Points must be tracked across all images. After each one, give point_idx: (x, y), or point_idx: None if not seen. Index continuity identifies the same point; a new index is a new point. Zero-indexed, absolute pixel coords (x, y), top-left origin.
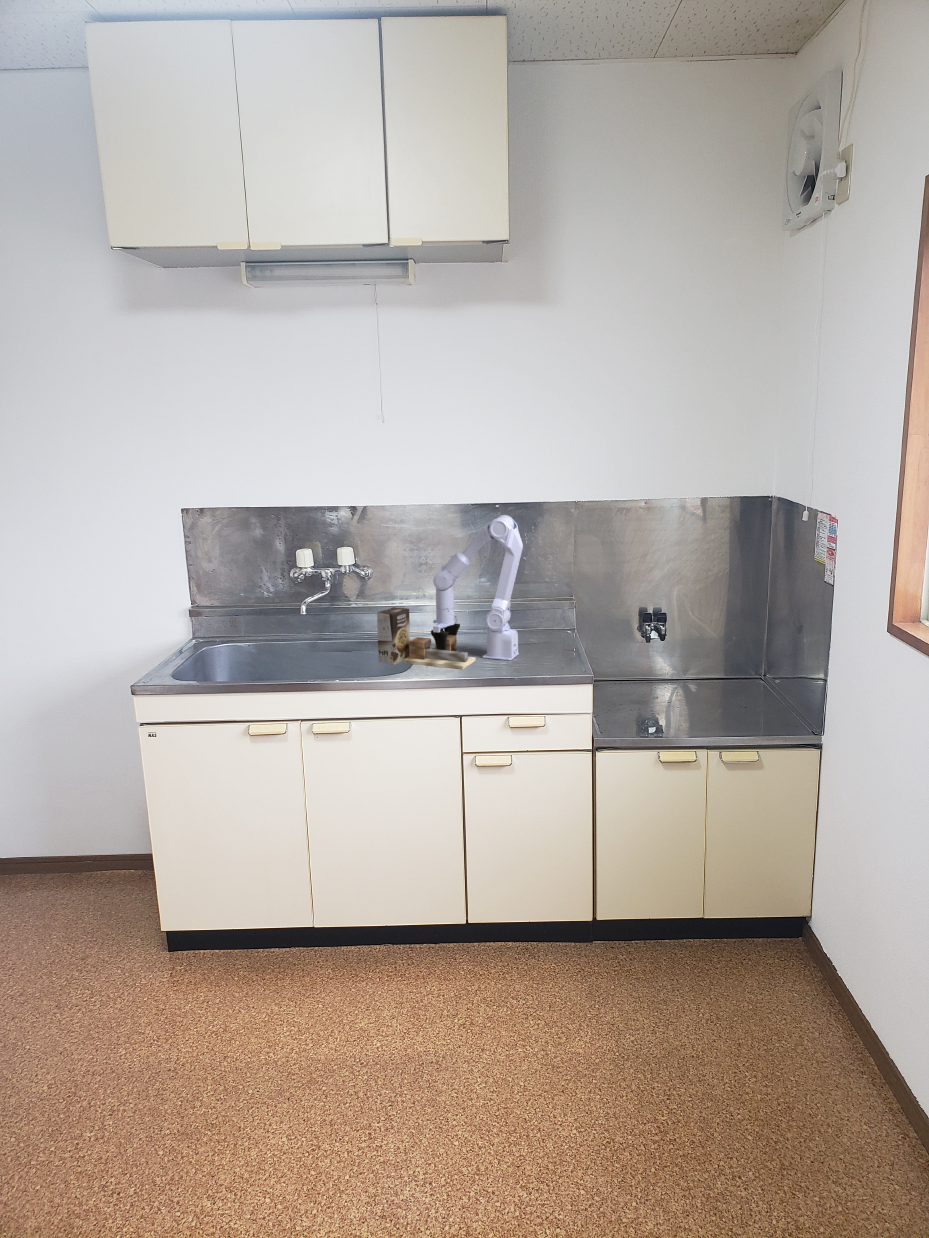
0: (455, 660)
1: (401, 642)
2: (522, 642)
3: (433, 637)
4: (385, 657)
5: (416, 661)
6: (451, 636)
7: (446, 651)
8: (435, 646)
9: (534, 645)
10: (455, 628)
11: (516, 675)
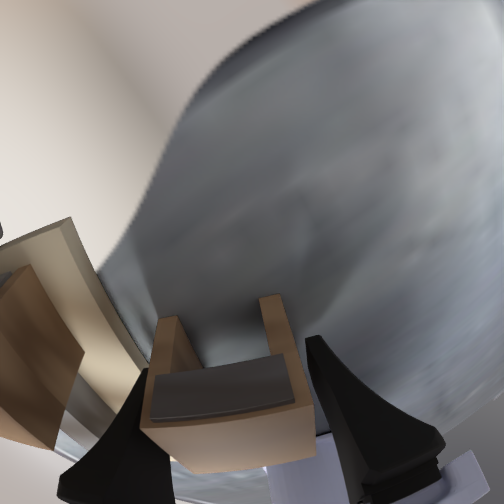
0: None
1: None
2: (458, 395)
3: (86, 454)
4: None
5: None
6: (274, 458)
7: None
8: (149, 366)
9: (430, 423)
10: (347, 487)
11: (178, 494)
